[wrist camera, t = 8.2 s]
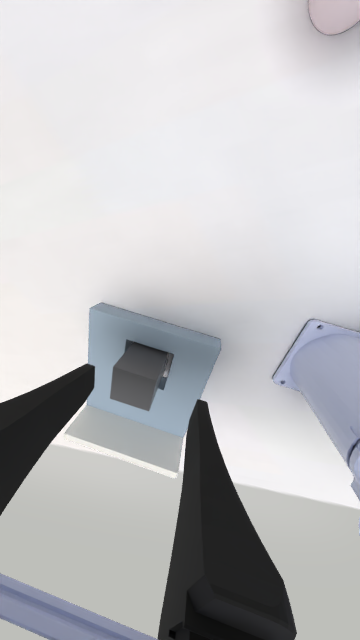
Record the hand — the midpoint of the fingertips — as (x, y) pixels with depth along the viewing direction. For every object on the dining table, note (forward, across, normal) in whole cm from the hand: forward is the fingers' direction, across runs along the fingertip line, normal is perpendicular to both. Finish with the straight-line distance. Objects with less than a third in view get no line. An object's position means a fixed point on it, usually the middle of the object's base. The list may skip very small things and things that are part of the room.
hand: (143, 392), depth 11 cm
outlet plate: (+9, +2, +7) cm, 11 cm away
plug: (+9, +2, +3) cm, 10 cm away
